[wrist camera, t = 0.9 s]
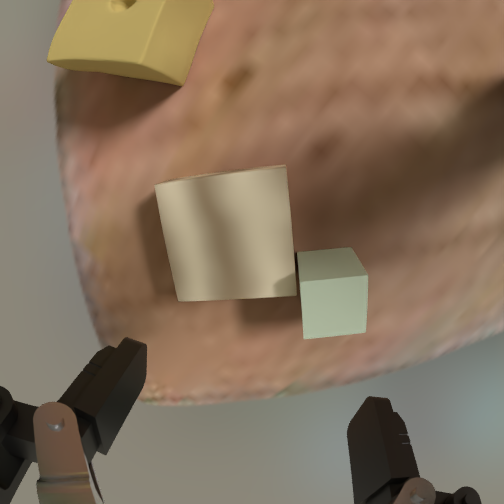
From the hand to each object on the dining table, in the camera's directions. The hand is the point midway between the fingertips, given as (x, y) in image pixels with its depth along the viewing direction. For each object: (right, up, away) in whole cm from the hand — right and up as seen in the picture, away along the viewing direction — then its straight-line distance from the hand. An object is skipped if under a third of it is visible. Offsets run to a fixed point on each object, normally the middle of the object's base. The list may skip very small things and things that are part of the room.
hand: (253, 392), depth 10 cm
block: (+7, +2, +21) cm, 22 cm away
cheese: (-10, +27, +15) cm, 32 cm away
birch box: (-2, +7, +20) cm, 22 cm away
